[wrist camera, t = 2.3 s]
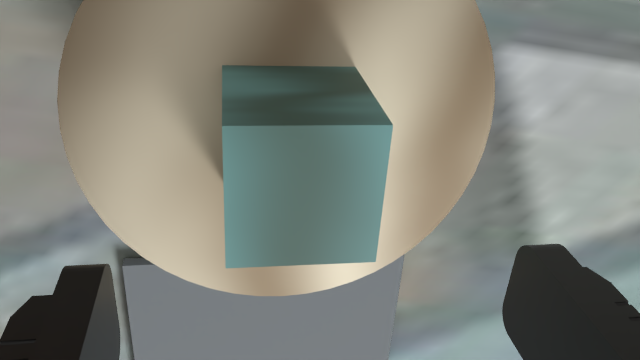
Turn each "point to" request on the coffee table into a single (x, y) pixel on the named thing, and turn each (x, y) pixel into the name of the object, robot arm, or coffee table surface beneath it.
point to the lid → (275, 131)
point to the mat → (259, 319)
